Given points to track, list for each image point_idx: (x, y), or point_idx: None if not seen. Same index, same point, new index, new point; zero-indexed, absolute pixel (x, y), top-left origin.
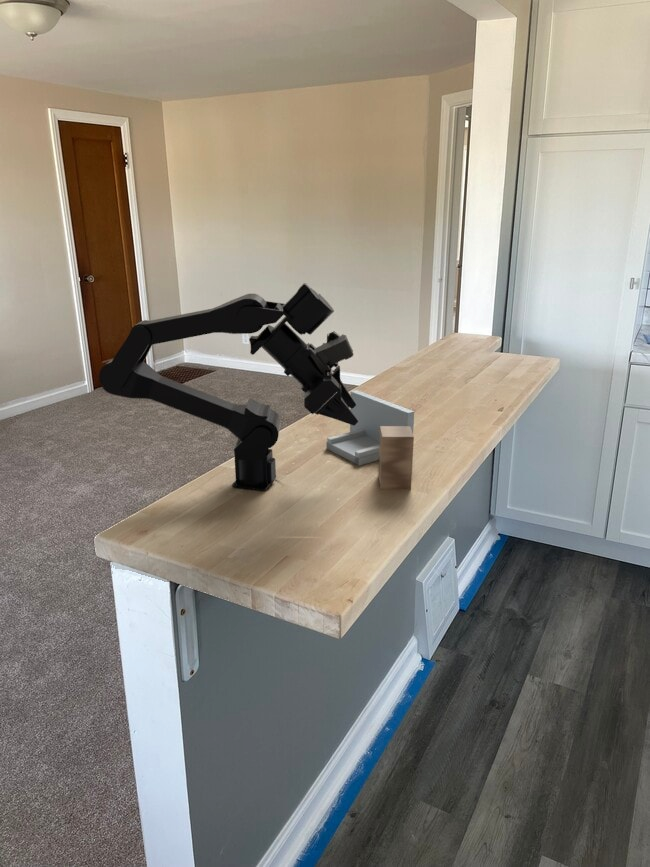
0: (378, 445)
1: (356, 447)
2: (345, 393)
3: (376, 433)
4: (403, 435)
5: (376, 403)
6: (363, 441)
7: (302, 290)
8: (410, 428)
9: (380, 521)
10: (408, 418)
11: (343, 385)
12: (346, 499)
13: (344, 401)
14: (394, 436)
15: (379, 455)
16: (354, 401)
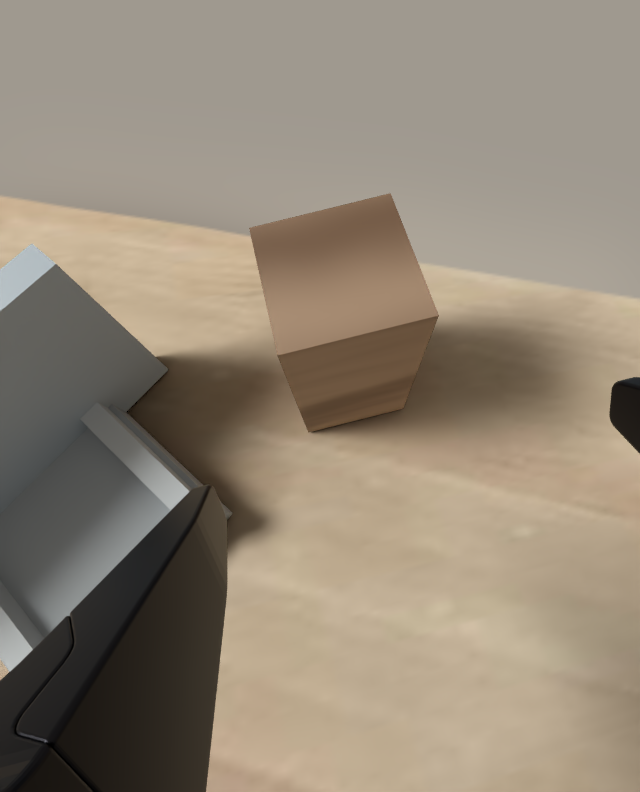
0: (122, 453)
1: (110, 548)
2: (170, 601)
3: (9, 478)
4: (387, 232)
5: None
6: (44, 532)
7: None
8: (281, 221)
9: (613, 372)
10: (72, 280)
11: (76, 666)
12: (514, 501)
13: (213, 597)
14: (412, 265)
15: (319, 401)
16: (182, 500)
